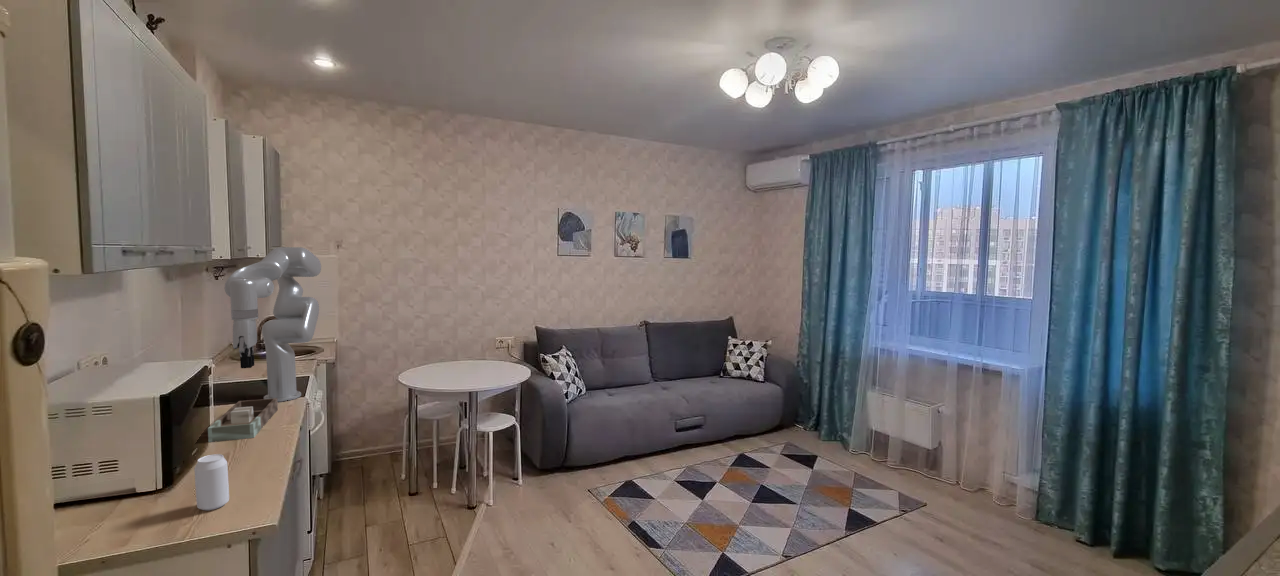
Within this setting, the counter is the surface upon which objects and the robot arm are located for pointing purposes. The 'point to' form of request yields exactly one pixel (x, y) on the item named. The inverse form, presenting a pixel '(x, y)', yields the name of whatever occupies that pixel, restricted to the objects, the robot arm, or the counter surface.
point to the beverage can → (211, 482)
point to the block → (242, 415)
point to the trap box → (229, 431)
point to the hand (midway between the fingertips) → (247, 366)
